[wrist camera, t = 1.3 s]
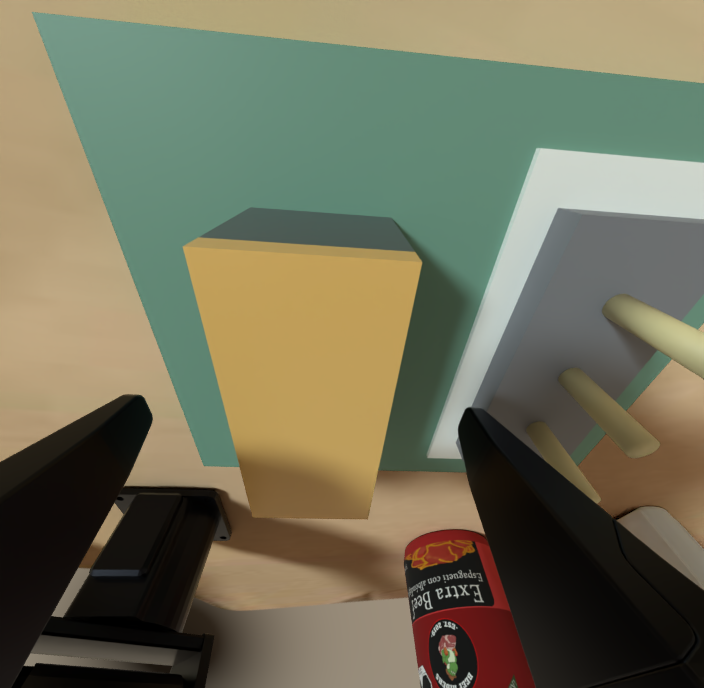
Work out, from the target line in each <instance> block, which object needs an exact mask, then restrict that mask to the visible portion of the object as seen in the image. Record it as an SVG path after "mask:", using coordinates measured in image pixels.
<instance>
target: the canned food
mask: <svg viewBox="0 0 704 688" xmlns="http://www.w3.org/2000/svg"><path fill="white" fill-rule="evenodd" d="M404 569H405V576H406V583H407V590H408V598H409V605H410V612H411V620H412V626H413V634H414V641H415V649H416V656H417V663H418V671H419V678H420V685H421V688H536V687H535V684H534V681H533V678H532V674H531V671H530V668H529V665H528V662H527V659H526V656H525V653H524V650H523V647H522V644H521V641H520V638H519V635H518V632H517V629H516V626H515V623H514V620H513V617H512V614H511V611H510V608H509V605H508V602H507V598H506V595H505V592H504V589H503V586H502V583H501V580H500V577H499V574H498V571H497V568H496V565H495V562H494V559H493V556H492V553H491V550H490V547H489V544H488V542H487V540H486V539H485V538H484V537H483V536H481V535H479V534H477V533H475V532H471V531H466V530H441V531H436V532H431V533H428V534H425V535H422V536H420V537H418V538H416V539H414V540H413V541H412V542H411V543H410V544H409V545H408V546H407V547H406V549H405V557H404Z"/></svg>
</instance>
